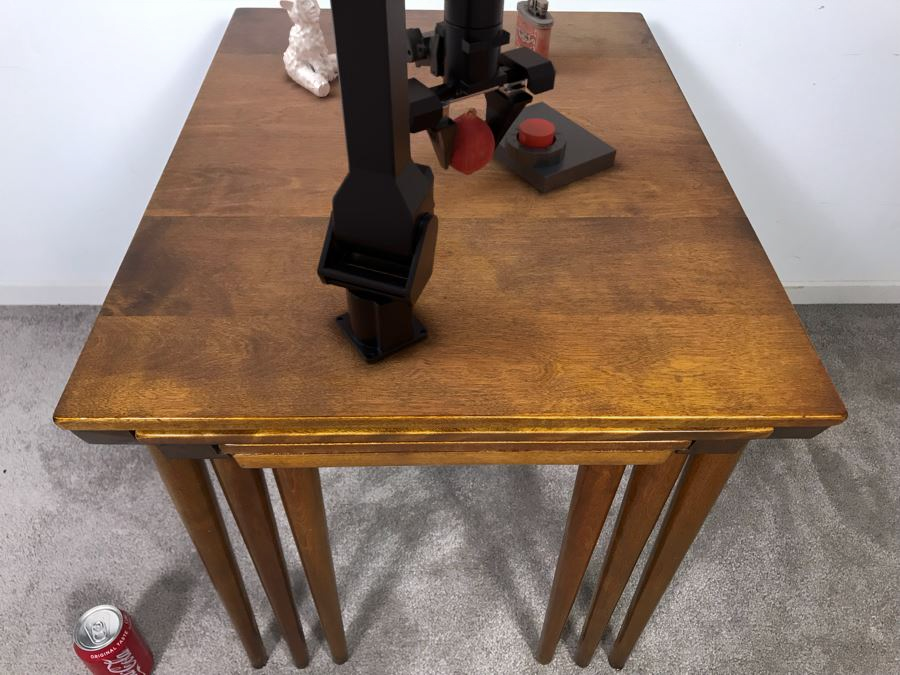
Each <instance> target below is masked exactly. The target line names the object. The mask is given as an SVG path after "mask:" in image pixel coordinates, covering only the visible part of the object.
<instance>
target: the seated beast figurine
mask: <svg viewBox="0 0 900 675" xmlns="http://www.w3.org/2000/svg"><path fill="white" fill-rule="evenodd" d="M279 6H280V8H282V9H283V10H286V12H287V14H288V16H289V18H290V20H291V21H292V23H294V25H293V26H292V27H290V28H291V29H290V31H289V37H288V42H289V45H288V46H287V48H286V51H285V52H283V57H282V60H283V62H284V70H286V73H287V74H288V76H289V77H290V78H291V79H292V81H293V82H295V83H296V84H298V85H299V86H301V87H302V88H304V89H306V90H308V91H309V92H310V93H312V94H314V95H315V96H317V97H318V98H323V97H327V95H329V93H330V90H331V86H330V83H329V82H333V81H334V80H336V78H338V68H337V59H336V53H331V54H329V49H328V48H327V47H326V41H325V37H324V33H323V31H322V29H321V28H320V23H319V22H320V15H321V11H322V10H321V7H320V4H319V3H318V0H279Z"/></svg>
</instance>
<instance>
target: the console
mask: <svg viewBox="0 0 900 675" xmlns="http://www.w3.org/2000/svg"><path fill="white" fill-rule="evenodd" d="M528 119H543V120H547V121H549V122H551V123H552V124H553V125H554V127H555V132H554V139H553V144H552V145H551V146H548V147H545V148H532V147H528V146H524V145H523V144H521V143H520V142H519V131H520V124H521V123H522V122H523V121H525V120H528ZM483 120H484V121H485V120H486V119H483ZM617 150H618V149H616V148H614V147H613V146H611V145H610V144H608V143H606V141H604V140H602V139H601V138H599V137H597V136H596V135H595V134H593V133H592V132H591V131H589V130H588V129H586V128H584V127H582V126H581V125H579V124H578V123H577V122H575V121H573V120H572V119H570V118H569V117H567V116H566V115H564V114H563V113H561V112H559V111H558V110H557V109H555V108H554V107H552V106H550V105H549V104H547V103H546V102H545V101H539V102H535V103H533V104H530V105H526V106H525V108H524V109H523V110H522V112H521V113H520V114H519V116H518V117H517V118H516V120H515V121H514V122H513V124H512V125H511V126H510V128H509V130H508V131H507V132H506V134H505V136H504V137H503V139H502V140H501V142H500V143H499V145H498V146H497V148H496V150H495V151H494V153H493V157H494V158H496V159H497V160H498V161H499V162H501V163H502V164H504V165H505V166H506V167H507V168H509V169H510V170H511V171H513V172H514V173H515V174H517V175H518V176H519V177H520V178H522V179H523V180H524V181H525V182H527V183H528V184H530V185H531V186H532V187H533V188H535V189H536V190H537V191H539V193H541V194H546V193H548V192H550V191H553V190H556V189H558V188H561V187H563V186H567V185H569V184H571V183H574V182H576V181H579V180H582V179H584V178H587V177H590V176H591V175H594V174H596V173H599V172H602V171H604V170H606V169H609V168H611V167H613V166H614V165H615V160H616V156H617Z"/></svg>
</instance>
